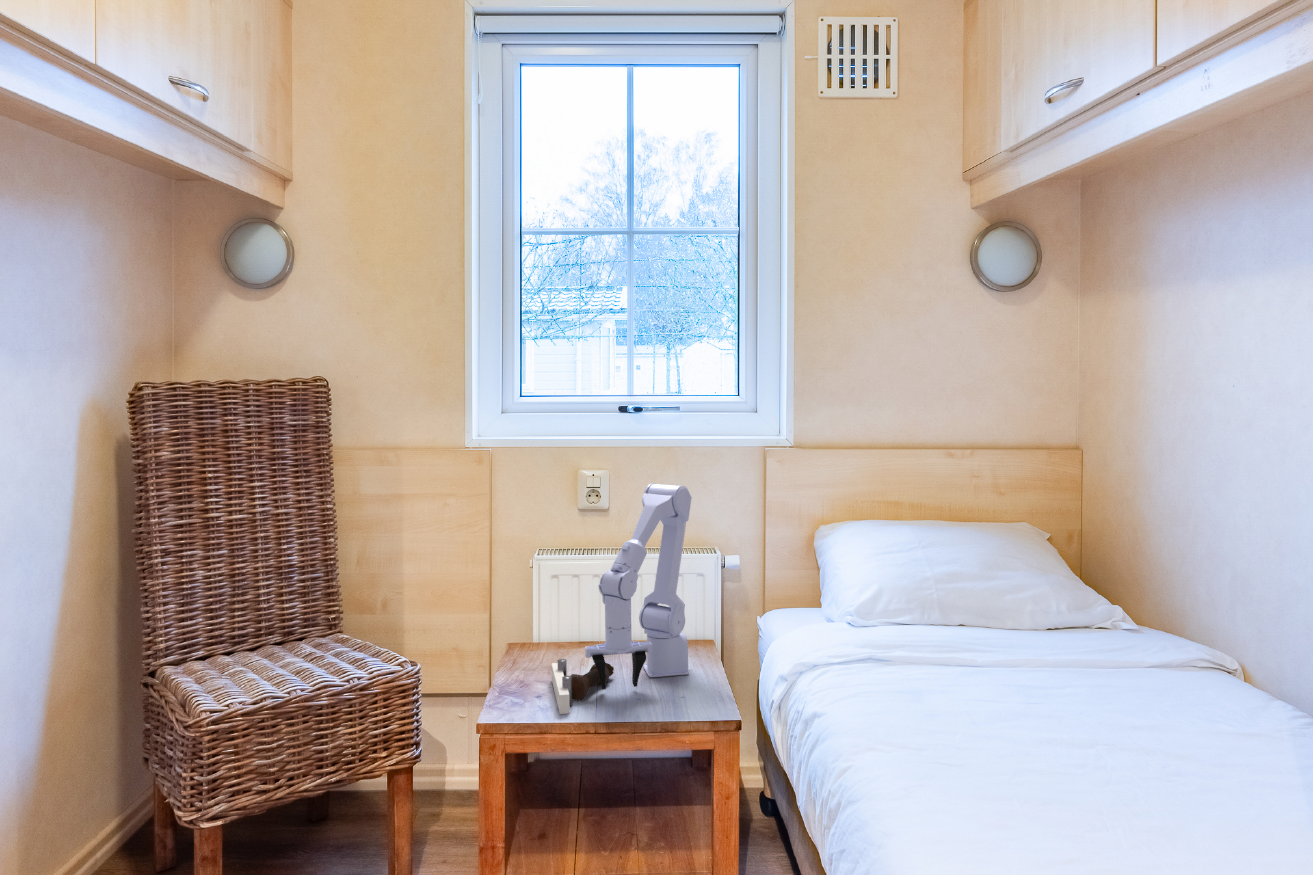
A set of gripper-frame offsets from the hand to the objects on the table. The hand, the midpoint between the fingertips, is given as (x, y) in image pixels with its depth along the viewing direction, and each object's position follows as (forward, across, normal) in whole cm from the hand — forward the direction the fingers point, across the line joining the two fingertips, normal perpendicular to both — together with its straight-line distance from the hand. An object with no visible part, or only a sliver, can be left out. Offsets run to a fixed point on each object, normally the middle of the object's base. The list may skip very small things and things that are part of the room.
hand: (619, 686), depth 180 cm
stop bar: (+1, -13, +1) cm, 13 cm away
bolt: (+2, -5, +4) cm, 7 cm away
